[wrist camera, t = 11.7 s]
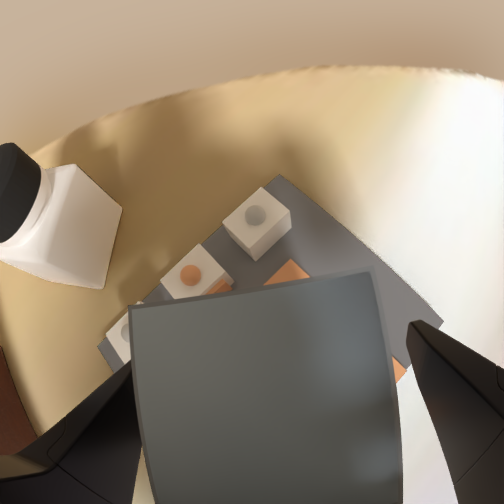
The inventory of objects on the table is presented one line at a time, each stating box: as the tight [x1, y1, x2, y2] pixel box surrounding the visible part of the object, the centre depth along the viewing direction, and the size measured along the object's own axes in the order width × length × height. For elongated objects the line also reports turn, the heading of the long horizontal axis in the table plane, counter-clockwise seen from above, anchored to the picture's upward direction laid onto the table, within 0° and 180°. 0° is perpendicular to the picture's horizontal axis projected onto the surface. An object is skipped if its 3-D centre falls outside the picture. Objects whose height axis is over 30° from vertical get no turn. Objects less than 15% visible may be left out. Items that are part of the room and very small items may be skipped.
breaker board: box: [97, 174, 444, 383], centre depth 16 cm, size 18×15×4 cm
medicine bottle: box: [0, 143, 122, 289], centre depth 18 cm, size 7×7×12 cm
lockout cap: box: [128, 265, 403, 504], centre depth 11 cm, size 5×5×12 cm
